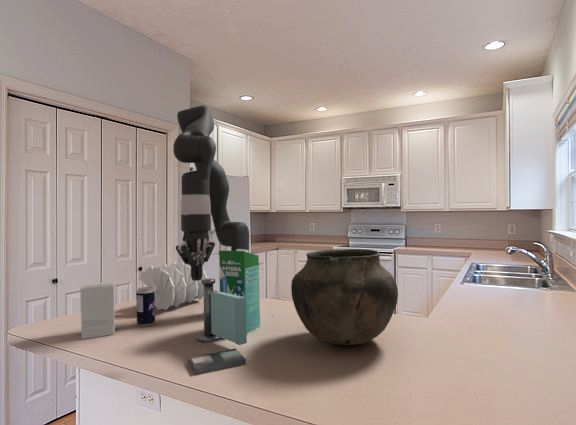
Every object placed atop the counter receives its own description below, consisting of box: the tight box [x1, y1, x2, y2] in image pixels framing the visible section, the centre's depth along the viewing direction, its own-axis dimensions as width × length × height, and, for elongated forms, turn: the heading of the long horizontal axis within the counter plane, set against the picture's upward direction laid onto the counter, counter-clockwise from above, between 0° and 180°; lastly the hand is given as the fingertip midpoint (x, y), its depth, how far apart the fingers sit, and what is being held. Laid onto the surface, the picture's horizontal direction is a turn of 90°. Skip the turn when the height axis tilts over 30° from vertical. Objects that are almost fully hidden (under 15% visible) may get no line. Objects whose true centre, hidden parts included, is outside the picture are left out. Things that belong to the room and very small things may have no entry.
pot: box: [290, 248, 399, 346], centre depth 101 cm, size 29×32×25 cm
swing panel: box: [211, 290, 248, 346], centre depth 100 cm, size 14×2×12 cm, turn 45°
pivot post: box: [196, 277, 222, 343], centre depth 106 cm, size 7×7×17 cm
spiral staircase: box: [138, 261, 209, 311], centre depth 147 cm, size 18×18×25 cm
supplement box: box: [79, 281, 116, 340], centre depth 113 cm, size 9×9×15 cm
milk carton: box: [218, 249, 261, 334], centre depth 115 cm, size 9×9×25 cm
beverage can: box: [135, 286, 156, 327], centre depth 121 cm, size 6×6×12 cm
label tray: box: [187, 348, 247, 376], centre depth 88 cm, size 12×8×2 cm, turn 117°
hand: (196, 280), depth 94 cm, fingers closed
